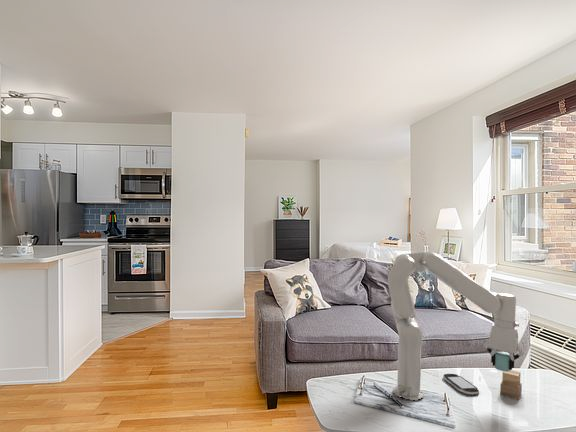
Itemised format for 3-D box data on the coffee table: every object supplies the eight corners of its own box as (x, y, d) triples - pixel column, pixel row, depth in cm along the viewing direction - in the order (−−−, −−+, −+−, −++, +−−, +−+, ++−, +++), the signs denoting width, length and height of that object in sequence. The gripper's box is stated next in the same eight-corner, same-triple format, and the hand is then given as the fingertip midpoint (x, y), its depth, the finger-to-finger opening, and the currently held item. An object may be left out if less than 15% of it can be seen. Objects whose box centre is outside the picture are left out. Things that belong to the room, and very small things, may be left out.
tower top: (518, 387, 161) (518, 376, 161) (502, 383, 165) (502, 372, 165) (520, 383, 166) (520, 371, 166) (504, 379, 169) (505, 368, 169)
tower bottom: (518, 400, 160) (519, 388, 160) (500, 394, 165) (500, 383, 165) (521, 394, 166) (521, 383, 166) (503, 389, 170) (503, 378, 170)
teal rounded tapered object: (508, 372, 152) (509, 357, 152) (493, 368, 156) (494, 354, 156) (510, 368, 156) (511, 354, 156) (496, 365, 160) (496, 350, 160)
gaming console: (440, 378, 182) (440, 373, 182) (457, 377, 183) (457, 372, 183) (463, 397, 162) (463, 391, 162) (482, 396, 163) (482, 390, 164)
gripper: (529, 326, 153) (527, 370, 153) (483, 317, 164) (481, 359, 164) (527, 330, 148) (525, 376, 148) (479, 320, 159) (477, 363, 158)
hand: (502, 366), depth 156 cm, fingers closed on teal rounded tapered object, 5 cm apart
